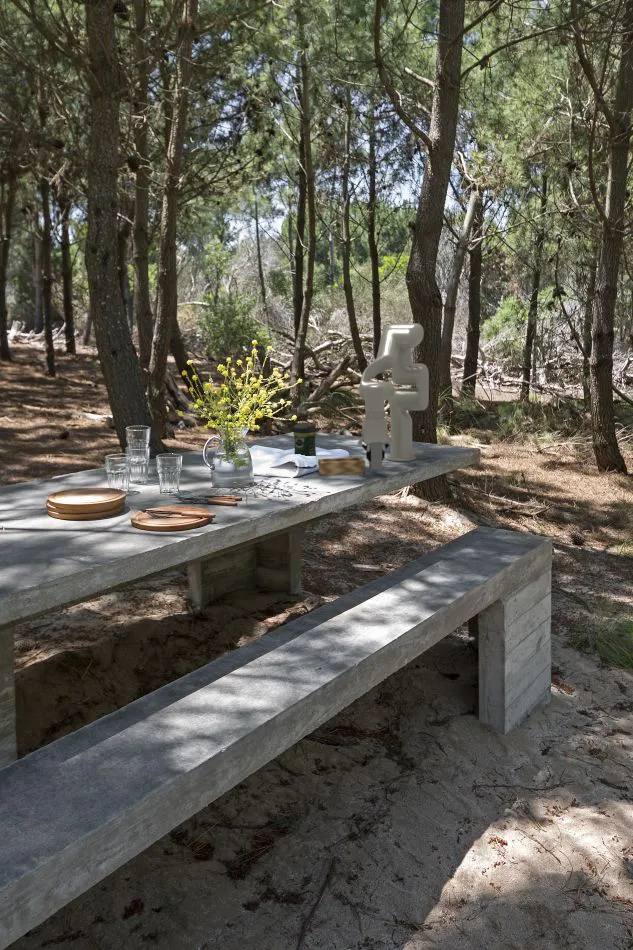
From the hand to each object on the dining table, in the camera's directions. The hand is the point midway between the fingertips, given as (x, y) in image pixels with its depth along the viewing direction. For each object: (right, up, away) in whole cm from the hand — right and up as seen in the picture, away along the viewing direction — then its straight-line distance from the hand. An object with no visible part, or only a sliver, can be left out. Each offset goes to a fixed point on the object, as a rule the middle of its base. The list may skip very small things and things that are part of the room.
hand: (375, 460), depth 326 cm
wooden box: (-13, -5, +9) cm, 17 cm away
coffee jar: (-28, -3, +24) cm, 37 cm away
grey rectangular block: (0, -3, +1) cm, 3 cm away
